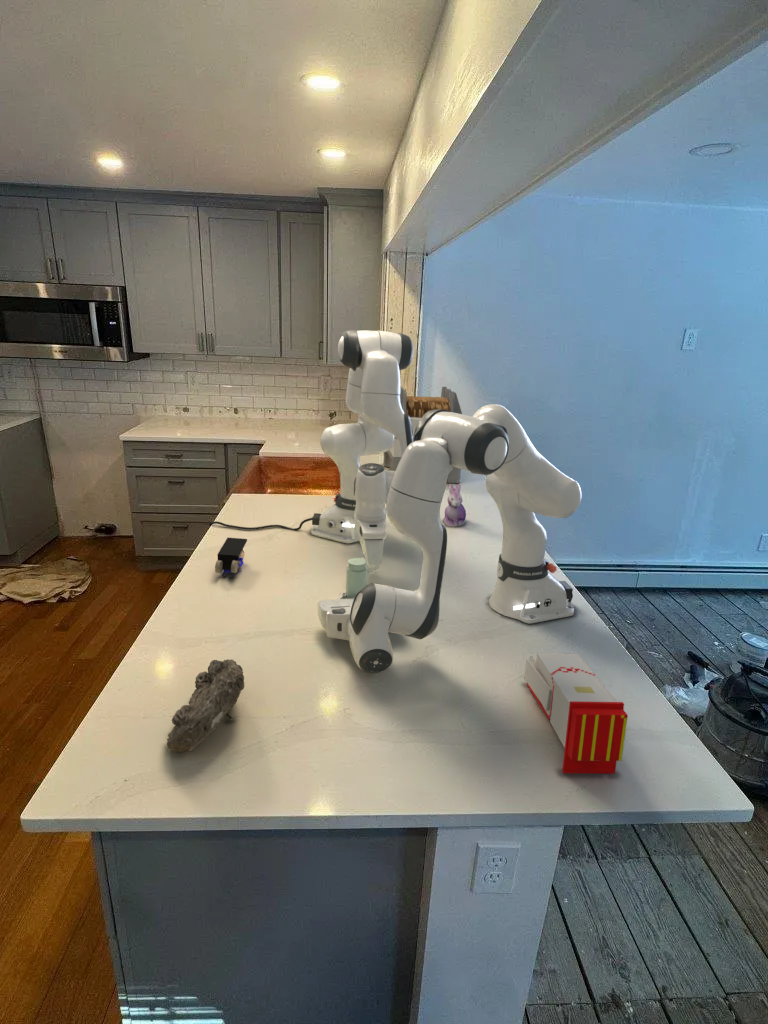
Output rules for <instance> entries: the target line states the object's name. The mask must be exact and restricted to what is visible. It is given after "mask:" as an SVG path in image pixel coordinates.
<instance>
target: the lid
mask: <svg viewBox="0 0 768 1024" xmlns="http://www.w3.org/2000/svg"><path fill="white" fill-rule="evenodd" d="M360 558H362V559H364V560H365V561H366V559H365V557H364V556H362V557H360ZM366 566H368V565H367V562H366ZM380 566H381V565H380ZM380 566H375V567H374V572H375V571H378V570H379V569H380V568H381V567H380Z"/></svg>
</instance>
